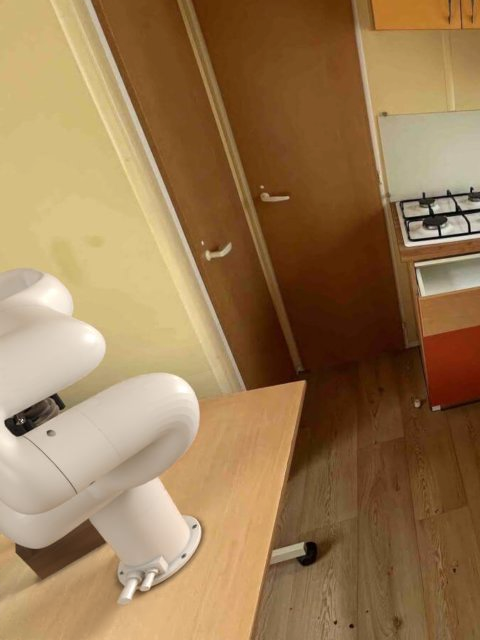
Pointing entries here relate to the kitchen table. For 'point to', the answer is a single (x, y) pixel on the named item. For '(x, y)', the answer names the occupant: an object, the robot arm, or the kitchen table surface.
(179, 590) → the kitchen table surface
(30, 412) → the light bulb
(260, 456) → the kitchen table surface
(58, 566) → the brown piece
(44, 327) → the robot arm
